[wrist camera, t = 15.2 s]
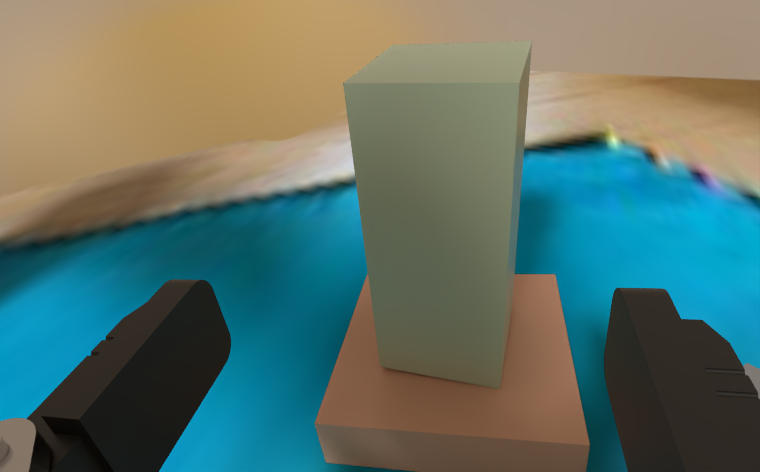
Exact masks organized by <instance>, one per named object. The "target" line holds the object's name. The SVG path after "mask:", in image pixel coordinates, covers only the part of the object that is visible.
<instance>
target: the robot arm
mask: <svg viewBox="0 0 760 472" xmlns="http://www.w3.org/2000/svg"><path fill="white" fill-rule="evenodd" d="M230 348H231V338H230V333H229V330H228V328H227V325H226V322H225V320H224V317H223V315H222V312H221V309H220V307H219V304H218V301H217V299H216V296H215V294H214V291H213V288H212V286H211V285H210V284H209V283H208V282H207V281H205V280H169V281H167V282H166V283H165V284H164V285H163V286H162V287H161V288H160V289H159V290H158V291H157V292H156V293H155V294H154V295H153V296H152V297H151V299H150V300H149V301H148V302H147V303H145V304H144V305H142V306H141V307H139V308H138V309H136V310H135V311H133V312H132V313H130V314H129V315H127V316H126V317H124V318H123V319H122V320H121V321H120V322H119V323H118V324H117V325H116V326H115V327H114V328H113V329H112V330H111V332H110V333H109V334H108V335H107V336H106V340H102V341H101V342H100V343H99V344H98V345H97V346H96V347H95V348H94V349H93V350H92V351H91V356H87V357H86V358H85V359H84V360H83V361H82V362H81V363H80V364H79V365H78V366H77V367H76V368H75V369H74V370H73V371H72V372H71V373H70V374H69V375H68V376H67V377H66V378H65V379H64V381H63V382H62V383H61V384H60V385H59V386H58V387H57V388H56V389H55V390H54V391H53V392H52V393H51V394H50V395H49V396H48V397H47V398H46V399H45V400H44V401H43V402H42V403H41V405H40V406H39V407H38V408H37V409H36V410H35V411H34V412H33V413H32V414H31V415H30V416H29V417H28V418H27V419H24V418H13V419H7V420H3V421H0V472H159V470H160V469H161V467H162V465H163V464H164V462H165V461H166V459H167V457H168V456H169V454H170V453H171V451H172V449H173V448H174V446H175V444H176V443H177V441H178V440H179V438H180V436H181V435H182V433H183V432H184V430H185V428H186V427H187V425H188V423H189V422H190V420H191V419H192V417H193V415H194V414H195V412H196V411H197V409H198V407H199V406H200V404H201V403H202V401H203V399H204V398H205V396H206V394H207V393H208V391H209V390H210V388H211V386H212V385H213V383H214V382H215V380H216V378H217V377H218V375H219V373H220V372H221V370H222V369H223V367H224V365H225V364H226V362H227V360H228V357H229V354H230ZM604 371H605V380H606V386H607V390H608V394H609V398H610V402H611V406H612V410H613V414H614V418H615V422H616V426H617V430H618V434H619V438H620V442H621V446H622V450H623V454H624V458H625V462H626V466H627V470H628V472H760V399H759V397H758V391H757V390H756V388H755V386H754V384H753V383H752V381H751V379H750V378H749V376H748V375H745V369H744V367H743V365H742V364H741V362H740V360H739V359H738V357H737V355H736V353H735V352H734V350H733V348H732V346H731V345H730V343H729V342H728V341H727V340H725V339H724V338H723V337H722V336H721V335H720V334H718V333H717V332H716V331H715V330H714V329H712V328H711V327H710V326H709V325H708V324H706V323H705V322H704V321H703V320H689V319H681V318H680V316H679V314H678V312H677V310H676V308H675V306H674V304H673V302H672V300H671V297H670V295H669V294H668V292H667V291H666V290H665V289H654V288H616V289H615V291H614V294H613V299H612V305H611V312H610V319H609V325H608V332H607V339H606V345H605V353H604Z"/></svg>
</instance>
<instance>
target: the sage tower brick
mask: <svg viewBox="0 0 760 472" xmlns="http://www.w3.org/2000/svg"><path fill="white" fill-rule="evenodd" d="M531 47H532V41H515V42H481V43H444V44H408V45H392V46H391V47H390V48H388V49H387V50H386V51H384V52H383V53H382V54H380V55H379V56H378V57H377V58H375V59H374V60H373V61H372V62H370V63H369V64H367V65H366V66H365V67H364V68H362V69H361V70H360V71H358V72H357V73H356V74H355V75H353V76H352V77H351V78H349V79H348V80H347V81H346V82H344V83H343V85H344V92H345V99H346V108H347V116H348V123H349V131H350V139H351V146H352V154H353V162H354V169H355V177H356V185H357V192H358V200H359V208H360V215H361V223H362V231H363V238H364V246H365V254H366V261H367V269H368V277H369V284H370V292H371V300H372V307H373V315H374V323H375V330H376V338H377V346H378V353H379V361H380V367H385V368H391V369H396V370H401V371H406V372H412V373H417V374H422V375H427V376H433V377H438V378H443V379H448V380H453V381H459V382H464V383H469V384H474V385H480V386H485V387H490V388H495V389H500V385H501V379H502V372H503V365H504V358H505V352H506V345H507V338H508V332H509V325H510V318H511V312H512V303H513V289H514V276H515V262H516V249H517V235H518V222H519V209H520V195H521V182H522V168H523V155H524V141H525V128H526V114H527V101H528V87H529V74H530V59H531Z"/></svg>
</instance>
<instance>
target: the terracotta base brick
mask: <svg viewBox="0 0 760 472" xmlns="http://www.w3.org/2000/svg"><path fill="white" fill-rule="evenodd" d="M315 427H316V430H317V434H318V437H319V441H320V444H321V447H322V451H323V454H324V457H325V461H326V463H334V464H345V465H355V466H365V467H375V468H386V469H396V470H406V471H416V472H586V469H587V462H588V455H589V448H590V443H589V438H588V433H587V429H586V424H585V419H584V414H583V409H582V404H581V399H580V394H579V389H578V384H577V379H576V374H575V369H574V365H573V360H572V355H571V350H570V345H569V340H568V335H567V330H566V325H565V320H564V315H563V310H562V305H561V301H560V296H559V291H558V286H557V281H556V276H555V274H515V276H514V289H513V303H512V312H511V318H510V325H509V332H508V338H507V345H506V352H505V358H504V365H503V372H502V379H501V385H500V389H495V388H490V387H485V386H480V385H474V384H469V383H464V382H459V381H453V380H448V379H443V378H438V377H433V376H427V375H422V374H417V373H412V372H406V371H401V370H396V369H391V368H385V367H380V361H379V353H378V346H377V338H376V330H375V323H374V315H373V307H372V300H371V292H370V284H369V277H368V273H367V276H366V279H365V282H364V285H363V287H362V290H361V293H360V296H359V299H358V302H357V305H356V307H355V310H354V313H353V316H352V319H351V322H350V324H349V327H348V330H347V333H346V336H345V339H344V341H343V344H342V347H341V350H340V353H339V356H338V358H337V361H336V364H335V367H334V370H333V373H332V375H331V378H330V381H329V384H328V387H327V390H326V392H325V395H324V398H323V401H322V404H321V407H320V410H319V412H318V415H317V418H316V421H315Z"/></svg>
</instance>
